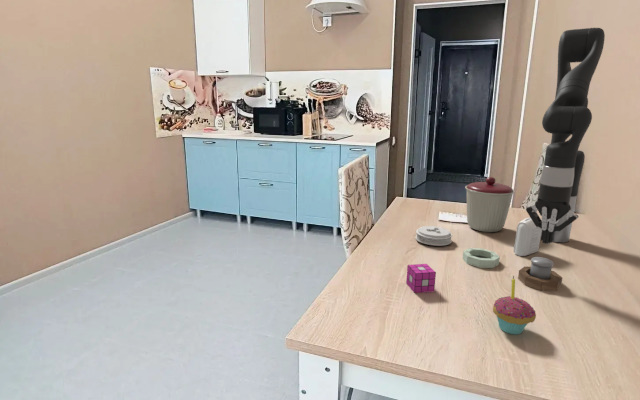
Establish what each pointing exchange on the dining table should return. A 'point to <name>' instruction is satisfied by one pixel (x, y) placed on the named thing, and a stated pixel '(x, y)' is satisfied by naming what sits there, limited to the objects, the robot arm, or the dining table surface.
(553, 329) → the dining table surface
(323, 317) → the dining table surface
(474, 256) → the sage ring
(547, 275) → the cap
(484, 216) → the canister
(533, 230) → the photo printer
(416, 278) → the puzzle toy
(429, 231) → the lid
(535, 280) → the walnut ring
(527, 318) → the cupcake
